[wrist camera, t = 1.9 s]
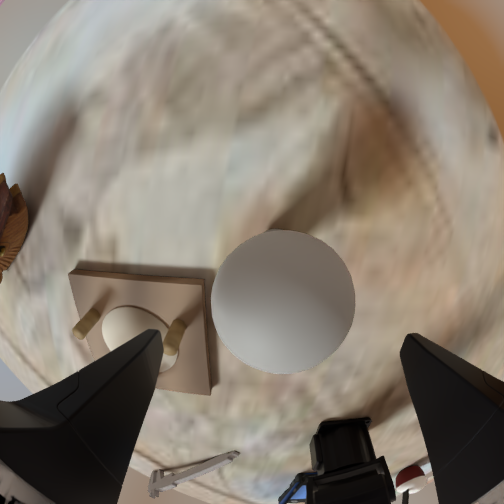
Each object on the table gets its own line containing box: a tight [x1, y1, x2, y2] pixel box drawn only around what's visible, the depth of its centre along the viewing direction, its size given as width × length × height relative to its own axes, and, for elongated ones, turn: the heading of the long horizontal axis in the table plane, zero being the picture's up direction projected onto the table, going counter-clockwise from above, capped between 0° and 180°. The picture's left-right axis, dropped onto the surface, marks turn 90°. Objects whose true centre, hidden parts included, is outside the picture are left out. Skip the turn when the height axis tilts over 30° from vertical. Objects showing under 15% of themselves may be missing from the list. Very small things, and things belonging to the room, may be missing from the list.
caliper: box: [148, 451, 239, 498], centre depth 29 cm, size 20×1×6 cm, turn 132°
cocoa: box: [396, 466, 428, 504], centre depth 29 cm, size 10×6×12 cm, turn 48°
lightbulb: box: [211, 229, 355, 374], centre depth 14 cm, size 6×6×11 cm
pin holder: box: [68, 269, 212, 396], centre depth 21 cm, size 12×12×4 cm
